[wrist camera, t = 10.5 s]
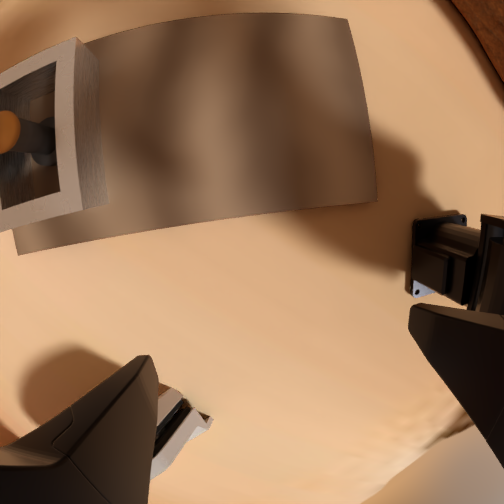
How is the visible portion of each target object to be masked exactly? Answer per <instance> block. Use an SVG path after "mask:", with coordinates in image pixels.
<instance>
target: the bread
mask: <svg viewBox="0 0 504 504" xmlns="http://www.w3.org/2000/svg"><path fill="white" fill-rule="evenodd" d="M451 1H452V2H453V4H454V5H455V6H456V7H457V8H458V10H459V11H460V12H461V14H462V15H463V16H464V18H465V19H466V20H467V22H468V23H469V25H470V26H471V28H472V29H473V31H474V32H475V34H476V36H477V37H478V39H479V40H480V42H481V44H482V46H483V48H484V50H485V51H486V53H487V55H488V57H489V58H490V60H491V62H492V64H493V65H494V67H495V69H496V70H497V72H498V74H499V75H500V77H501V79H502V81H503V82H504V0H451Z"/></svg>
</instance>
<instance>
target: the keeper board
mask: <svg viewBox="0 0 504 504" xmlns="http://www.w3.org/2000/svg"><path fill="white" fill-rule="evenodd" d="M84 45H85V46H86V47H87V48H88V49H89V50H90V51H91V52H92V53H93V54H94V55H95V57H96V58H97V59H98V60H99V106H100V125H101V139H102V151H103V160H104V169H105V178H106V185H107V192H108V199H109V204H106V205H102V206H98V207H93V208H89V209H85V210H81V211H77V212H72V213H68V214H64V215H60V216H56V217H52V218H49V219H45V220H41V221H37V222H34V223H30V224H27V225H23V226H20V227H16V228H13V234H14V239H15V244H16V249H17V253H18V255H23V254H28V253H32V252H37V251H42V250H47V249H52V248H57V247H62V246H67V245H72V244H77V243H82V242H88V241H93V240H98V239H104V238H109V237H115V236H121V235H126V234H132V233H138V232H144V231H150V230H156V229H162V228H169V227H175V226H181V225H188V224H195V223H201V222H208V221H215V220H222V219H229V218H237V217H244V216H251V215H259V214H267V213H275V212H283V211H291V210H300V209H308V208H317V207H326V206H336V205H346V204H356V203H366V202H377V187H376V175H375V164H374V155H373V146H372V138H371V130H370V123H369V117H368V110H367V104H366V98H365V93H364V87H363V82H362V77H361V72H360V68H359V63H358V59H357V54H356V50H355V46H354V42H353V38H352V34H351V31H350V27H349V23H348V20H347V19H343V18H335V17H327V16H318V15H306V14H289V13H241V14H224V15H212V16H203V17H194V18H187V19H180V20H174V21H168V22H163V23H158V24H153V25H148V26H144V27H139V28H135V29H131V30H127V31H123V32H120V33H116V34H113V35H109V36H106V37H103V38H100V39H97V40H94V41H91V42H88V43H85V44H84ZM7 151H15V152H25V153H31V164H32V175H33V185H34V193H35V199H37V198H40V197H44V196H47V195H50V194H54V193H57V192H60V184H59V175H58V165H57V153H56V137H55V91H53V92H51V93H48V94H46V95H44V96H41V97H39V98H37V99H35V100H32V101H30V121H29V120H25V119H22V118H18V117H17V116H16V115H15V114H14V113H13V112H11V111H0V154H2V153H5V152H7Z"/></svg>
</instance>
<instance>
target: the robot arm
mask: <svg viewBox="0 0 504 504" xmlns="http://www.w3.org/2000/svg"><path fill="white" fill-rule="evenodd" d="M480 222H481V230H479V229H475V228H471V227H467V218H466V216H465V215H463V214H456V215H447V216H439V217H431V218H423V219H416V220H415V221H414V222H413V226H412V270H411V288H410V294H411V296H413V297H415V298H418V297H421V296H425V295H428V294H431V293H435V292H437V293H438V294H440V295H444V296H446V297H447V298H449V299H451V300H453V301H454V302H456V303H458V304H460V305H461V306H463V305H464V306H466V307H467V310H464V309H457V308H451V307H444V306H438V305H431V304H425V303H418V304H415V305H413V306H411V308H410V314H409V323H408V329H409V332H410V334H411V335H412V337H413V338H414V340H415V341H416V343H417V345H418V346H419V348H420V349H421V351H422V353H423V354H424V356H425V357H426V359H427V360H428V362H429V363H430V364H431V366H432V367H433V368H434V369H435V371H436V372H437V373H438V375H439V376H440V377H441V379H442V380H443V381H444V383H445V384H446V385H447V387H448V388H449V389H450V391H451V392H452V393H453V395H454V396H455V397H456V399H457V400H458V401H459V403H460V404H461V405H462V407H463V408H464V410H465V411H466V412H467V414H468V415H469V417H470V418H471V419H472V421H473V422H474V424H475V425H476V427H477V428H478V430H479V431H480V432H481V434H482V435H483V437H484V438H485V439H486V442H487V443H488V445H489V446H490V448H491V449H492V451H493V452H494V454H495V455H496V457H497V459H498V460H499V462H500V463H501V465H502V467H503V468H504V217H503V216H495V215H487V214H481V219H480ZM418 224H419V228H418ZM416 290H417V292H416V293H415V291H416ZM158 386H159V380H158V375H157V372H156V369H155V366H154V363H153V360H152V358H151V356H150V355H139V356H137V357H135V358H134V359H133V360H131V361H130V362H129V363H127V364H126V365H125V366H123V367H122V368H121V369H119V370H118V371H117V372H115V373H114V374H113V375H111V376H110V377H109V378H107V379H106V380H105V381H103V382H102V383H101V384H99V385H98V386H97V387H95V388H94V389H93V390H91V391H90V392H88V393H87V394H86V395H84V396H83V397H82V398H80V399H79V400H78V401H76V402H75V403H74V404H72V405H71V407H68V408H67V409H65V410H64V411H63V412H61V413H60V414H58V415H57V416H55V417H54V418H53V419H51V420H50V421H48V422H46V423H45V424H43V425H42V426H40V427H38V428H37V429H35V430H33V431H32V432H30V433H28V434H26V435H25V436H23V437H21V438H20V439H18V440H16V441H14V442H13V443H11V444H9V445H6V446H3V447H0V504H148V494H149V484H150V474H151V466H152V458H153V450H154V442H155V435H156V428H157V420H158Z"/></svg>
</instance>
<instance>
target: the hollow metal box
mask: <svg viewBox="0 0 504 504" xmlns="http://www.w3.org/2000/svg"><path fill="white" fill-rule="evenodd" d="M53 91H55V137H56V153H57V165H58V175H59V184H60V192H57V193H54V194H50V195H47V196H44V197H40V198H37V199H35V193H34V185H33V175H32V164H31V153H25V152H15V151H7V152H5V153H2V154H0V232H3V231H6V230H9V229H13V228H16V227H20V226H23V225H27V224H30V223H34V222H37V221H41V220H45V219H49V218H52V217H56V216H60V215H64V214H68V213H72V212H77V211H81V210H85V209H89V208H93V207H98V206H102V205H106V204H109V199H108V192H107V185H106V178H105V169H104V160H103V151H102V139H101V125H100V106H99V60H98V59H97V58H96V57H95V55H94V54H93V53H92V52H91V51H90V50H89V49H88V48H87V47H86V46H85V45H84V44H83V43H82V42H81V41H80V40H79V39H78V38H77V37H74V38H72V39H69V40H67V41H64V42H62V43H59V44H57V45H55V46H53V47H50V48H48V49H46V50H44V51H42V52H40V53H37V54H35V55H33V56H31V57H29V58H27V59H26V60H24V61H22V62H20V63H18V64H16V65H14V66H13V67H11V68H9V69H7V70H6V71H4V72H2V73H1V74H0V111H11V112H13V113H14V114H15V115H16V116H17V117H18V118H22V119H25V120H29V121H30V101H32V100H35V99H37V98H39V97H41V96H44V95H46V94H48V93H51V92H53Z"/></svg>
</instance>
